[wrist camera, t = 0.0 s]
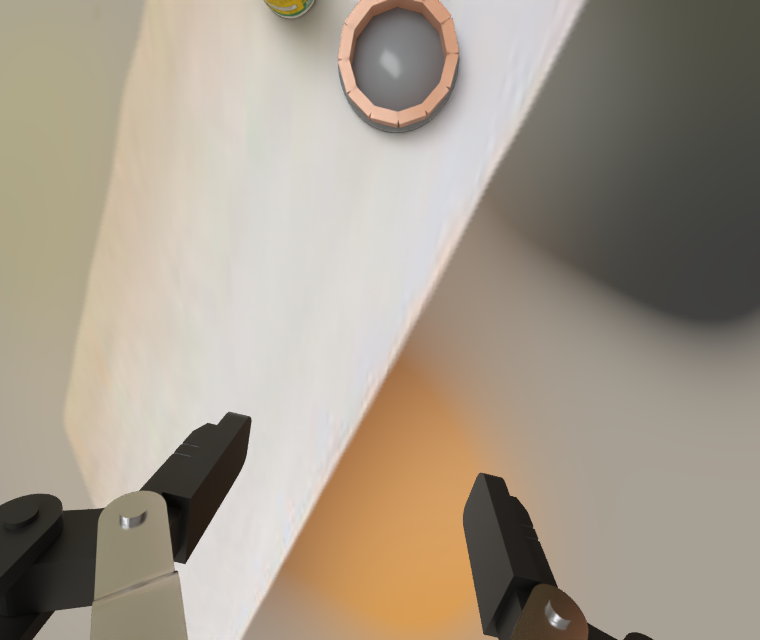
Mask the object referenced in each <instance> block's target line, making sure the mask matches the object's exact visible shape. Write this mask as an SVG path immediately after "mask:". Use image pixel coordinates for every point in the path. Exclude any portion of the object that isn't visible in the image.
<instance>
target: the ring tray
mask: <svg viewBox="0 0 760 640" xmlns="http://www.w3.org/2000/svg"><path fill="white" fill-rule="evenodd" d="M450 18H451V14H450V13H449V12H448V11H447V9H446V8H445V7H444V6H443V5H442V3H441V2H440V1H439V0H360V1H359V2H358V4H357V5H356V6H355V8H354V9H353V10H352V12H351V13H350V15H349V16H348V17H347V19H346V20H345V21H344V22H345V25H344V24H343V29H342V35H341V41H340V47H339V53H338V69H339V77H340V81H341V85H342V88H343V91H344V94H345V96H346V98H347V100H348V102H349V104H350V105H351V107H352V108H353V110H354V111H355V112H356V113H357V114H358V116H359V117H361V118H362V119H363V120H364V121H365V122H367V123H368V124H369V125H371V126H373V127H375V128H377V129H380V130H383V131H387V132H406V131H410V130H414V129H416V128H419V127H421V126H422V125H424V124H426V123H427V122H429V121H430V120H431V119H432V118H434V117H435V116H436V115H437V114H438V113H439V111H440V110H441V109H442V108H443V106H444V105H445V103H446V102H447V100H448V98H449V96H450V94H451V92H452V89H453V87H454V84H455V81H456V77H457V72H458V64H459V49H458V43H457V38H456V33H455V28H454V23H453V18H451V19H450Z"/></svg>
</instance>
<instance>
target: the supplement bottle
mask: <svg viewBox="0 0 760 640" xmlns="http://www.w3.org/2000/svg"><path fill="white" fill-rule="evenodd" d="M264 1H265V2H266V4H267V5H268V6H269V8H270V9H271V10H272V11H273V12H275V13H276V14H278V15H279V16H282V17H284V18H296V17H299V16H301V15H303V14H304V13H306V12H307V11H308V10H309V9H310V7H311V6H312V5H313V3H314V1H315V0H264Z"/></svg>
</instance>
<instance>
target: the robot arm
mask: <svg viewBox="0 0 760 640" xmlns="http://www.w3.org/2000/svg"><path fill="white" fill-rule="evenodd" d="M250 428H251V417H249V416H245V415H241V414H237V413H233V412H228V413H227V414H226V415H225V416H224V417H223V419H222V420H221V421H220V422H219V423H218V425H214V424H210V423H207V424H205V425H203V426H201V427H200V428H198V429H196V430H194V431H193V432H192V433H191V434H190V435H189V436H188V437H187V438H186V439H185V441H184V442H183V444H182V445H180V446H179V447H178V448H177V449H176V451H175V452H174V454H172V455H171V456H170V457H169V458H168V459H167V460H166V462H165V463H164V464H163V465H162V466H161V467H160V468H159V469H158V470H157V472H156V473H155V474H154V475H153V476H152V477H151V478H150V479H149V480H148V481H147V483H146V484H145V485H144V486H143V487H142V488H141V489H140V490H139V491H136V492H131V493H128V494H125V495H123V496H121V497H119V498H117V499H115V500H114V501H112V502H111V503H110V504H109V505H107V506H106V508H100V509H87V510H69V511H63V510H62V509H63V508H62V503H61V501H60V500H59V499H58V498H57V497H55V496H53V495H49V494H33V495H32V494H31V495H27V496H22V497H19V498H16V499H13V500H11V501H8V502H6V503H4V504H2V505H0V640H33V638H34V637H35V636H36V634H37V633H38V632H39V630H40V629H41V628H42V627H43V625H44V624H45V623H46V621H47V620H48V619H49V618H50V616H51V615H52V614H53V613H54V611H55V610H63V609H71V608H78V607H86V606H92V614H91V632H90V640H188V637H187V629H186V622H185V615H184V607H183V600H182V593H181V585H180V579H179V574H178V571H175V568H174V562H178V563H183V564H186V562H187V560H188V559H189V557H190V555H191V554H192V552H193V550H194V549H195V547H196V545H197V544H198V542H199V540H200V539H201V537H202V535H203V534H204V532H205V530H206V528H207V527H208V525H209V523H210V522H211V520H212V518H213V517H214V515H215V513H216V512H217V510H218V508H219V507H220V505H221V503H222V502H223V500H224V498H225V497H226V495H227V493H228V492H229V490H230V488H231V487H232V485H233V483H234V482H235V480H236V478H237V476H238V475H239V473H240V471H241V469H242V467H243V465H244V462H245V459H246V455H247V449H248V442H249V435H250ZM463 526H464V531H465V537H466V543H467V548H468V553H469V559H470V564H471V569H472V575H473V580H474V586H475V591H476V596H477V601H478V607H479V612H480V618H481V623H482V628H483V634H484V635H489V636H493V637H497V638H498V639H499V640H617V639H615V638H613V637H612V636H610V635H608V634H606V633H604V632H602V631H601V630H599V629H597V628H595V627H594V626H592V625H590V624H589V623H587V621H586V619H585V616H584V614H583V613H582V611H581V610H580V608H579V606H578V605H577V604H576V603H575V602H574V601H573V599H571V597H570V596H568V595H567V594H566V593H565V592H563V591H562V590H560V589H558V586H557V584H556V581H555V579H554V576H553V574H552V572H551V569H550V566H549V564H548V561H547V559H546V557H545V554H544V551H543V549H542V547H541V544H540V542H539V541H538V537H537V534H536V532H535V529H533V524H532V522H531V519H530V517H529V514H528V512H527V510H526V509H525V508H524V506H523V505H522V504H521V503H520V501H519V500H518V499H517V498H516V497H513V496H510V495H509V492H508V489H507V486H506V484H505V481H504V479H503V478H501V477H497V476H493V475H489V474H485V473H479V475H478V476H477V478H476V480H475V483H474V485H473V488H472V490H471V493H470V495H469V498H468V500H467V502H466V505H465V508H464V514H463ZM624 640H653V639H652V638H650V637H648V636H646V635H643V634H641V633H636V632H634V633H633V632H632V633H629V634H628V635H626V637H625V638H624Z"/></svg>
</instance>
